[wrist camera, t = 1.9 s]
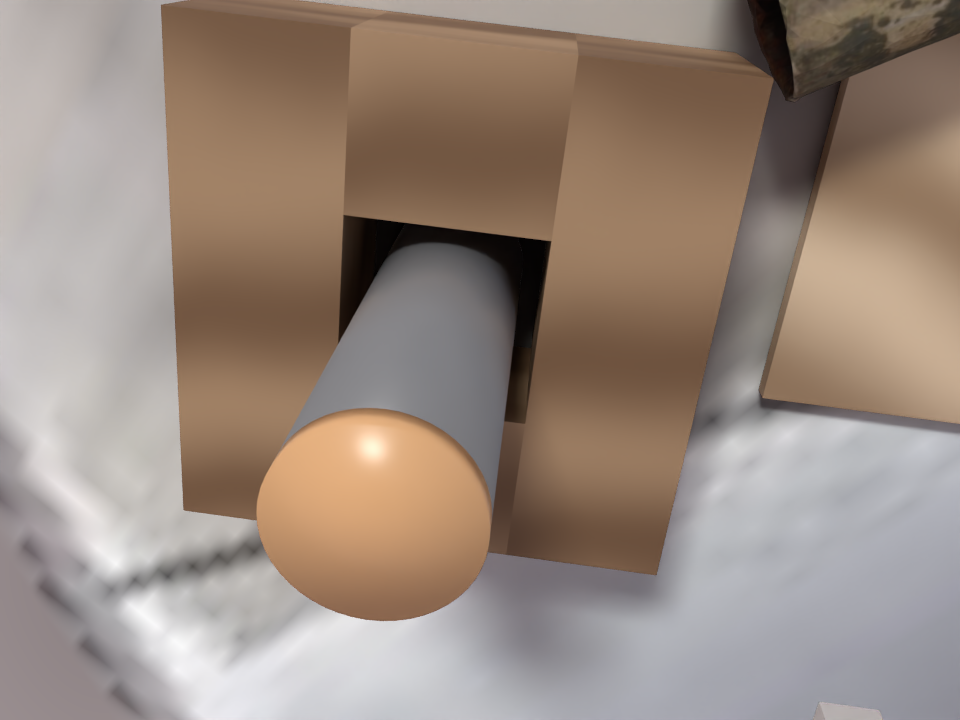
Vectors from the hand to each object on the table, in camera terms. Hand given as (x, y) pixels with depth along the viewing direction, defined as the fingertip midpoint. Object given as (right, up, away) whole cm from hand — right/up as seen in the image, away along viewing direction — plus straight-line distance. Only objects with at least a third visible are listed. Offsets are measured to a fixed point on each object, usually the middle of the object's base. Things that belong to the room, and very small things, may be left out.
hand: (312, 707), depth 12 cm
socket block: (+2, +8, +16) cm, 18 cm away
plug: (+2, +8, +16) cm, 18 cm away
